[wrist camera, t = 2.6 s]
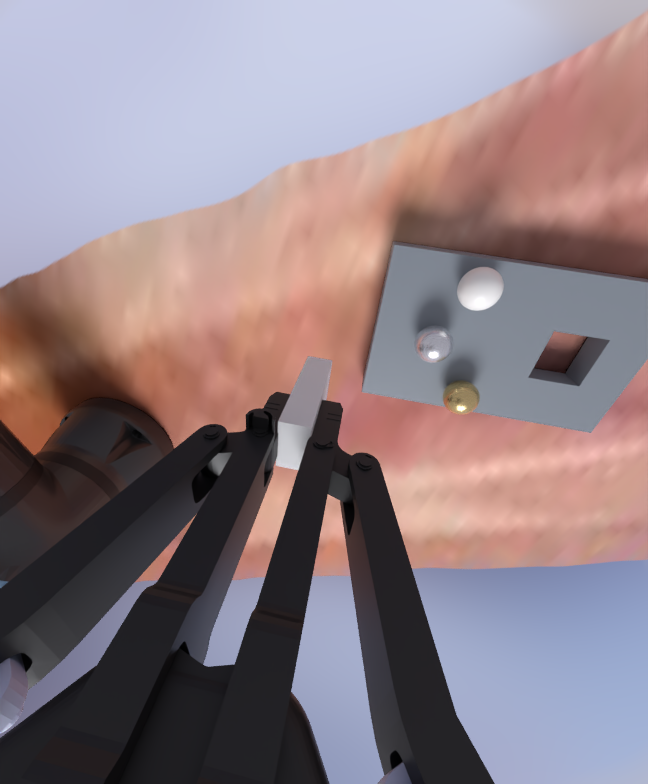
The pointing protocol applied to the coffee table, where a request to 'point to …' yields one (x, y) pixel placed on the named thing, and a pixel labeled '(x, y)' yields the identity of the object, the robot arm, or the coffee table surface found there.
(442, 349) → the steel ball
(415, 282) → the board
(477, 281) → the white ball
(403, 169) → the coffee table surface
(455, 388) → the brass ball
